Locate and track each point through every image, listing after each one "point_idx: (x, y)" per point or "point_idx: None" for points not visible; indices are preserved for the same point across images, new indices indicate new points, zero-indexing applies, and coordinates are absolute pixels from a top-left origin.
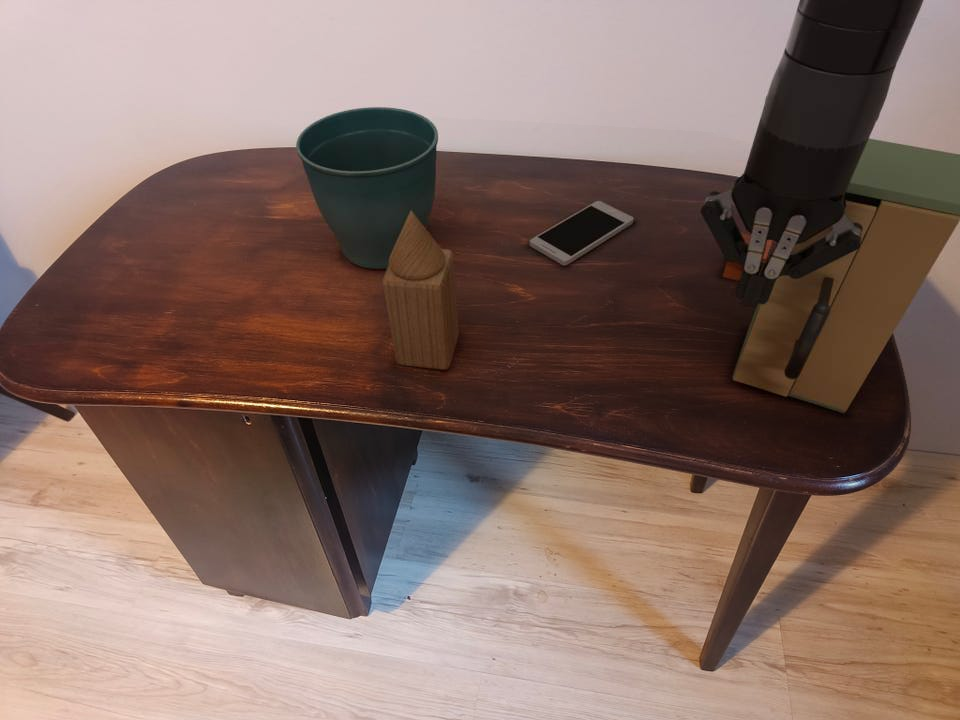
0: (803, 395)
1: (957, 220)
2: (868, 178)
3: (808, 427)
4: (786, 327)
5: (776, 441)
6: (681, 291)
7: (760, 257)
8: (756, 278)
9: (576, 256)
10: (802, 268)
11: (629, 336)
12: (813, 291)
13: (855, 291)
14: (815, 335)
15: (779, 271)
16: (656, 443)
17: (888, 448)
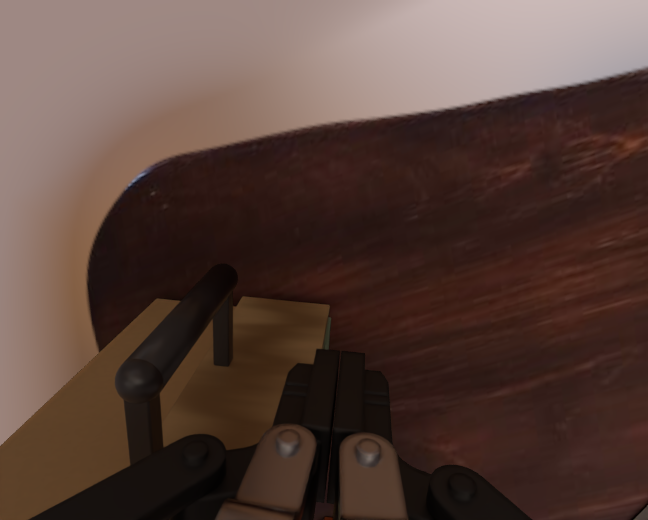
0: None
1: None
2: None
3: (204, 255)
4: (249, 383)
5: (244, 209)
6: None
7: (345, 500)
8: (338, 421)
9: (646, 515)
10: (166, 475)
11: (515, 357)
12: None
13: (95, 481)
14: (162, 321)
15: (259, 452)
16: (432, 128)
17: (95, 254)
